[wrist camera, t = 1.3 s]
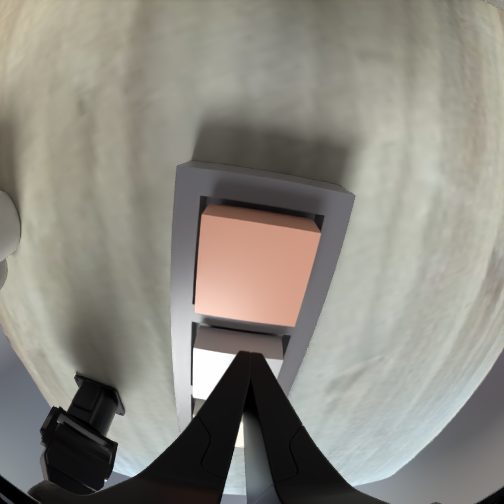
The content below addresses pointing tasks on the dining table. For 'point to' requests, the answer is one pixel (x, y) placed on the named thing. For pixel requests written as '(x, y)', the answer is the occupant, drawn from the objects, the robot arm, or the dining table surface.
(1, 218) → the cup
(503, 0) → the decorative bowl
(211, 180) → the frame
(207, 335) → the grey key
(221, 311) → the terracotta key
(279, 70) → the dining table surface
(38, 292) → the dining table surface
